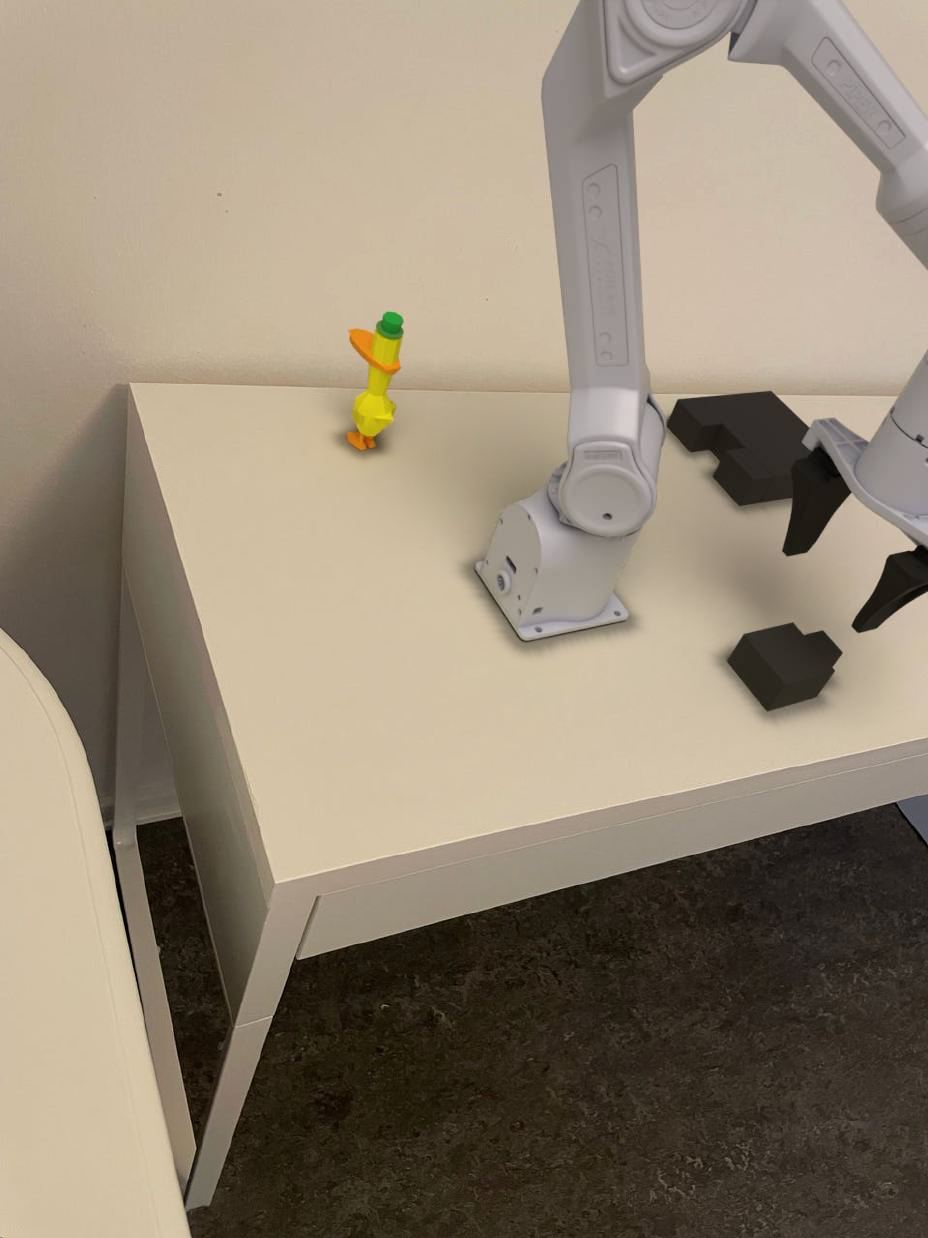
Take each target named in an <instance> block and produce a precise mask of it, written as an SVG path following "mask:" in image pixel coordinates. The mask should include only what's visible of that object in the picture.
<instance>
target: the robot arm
mask: <svg viewBox="0 0 928 1238" xmlns="http://www.w3.org/2000/svg"><path fill="white" fill-rule="evenodd" d="M729 33H730V34H729ZM728 34H729V43H728V51H727V57H726V60H727V61H729V62H733V63H740V64H741V63H742V64H755V65H756V64H757V65H767V66H768V65H770V66H780V67H782V68H784V69H785V70H786V71H787V72H788V73H789V74H790V75H791V76H792V77H793V79H794V80H795V81H796V82H797V83H798V84H799V85H800V86H801V87H802V88H803V89H804V90H805V92H806V93H807V94H808V95H809V96H810V97H811V98H812V99H813V100H814V101H815V102H816V104H817V105H818V106H819V107H820V108H821V109H822V110H823V112H825V114H827V115H828V117H829V118H830V119H831V120H832V121H833V122H834V123H835V124H836V126H838V128H839V129H840V130H841V131H842V132H843V133H844V135H846V136H847V137H848V138H849V139H850V141H851V142H852V143H853V144H854V145H855V146H856V147H857V148H858V149H859V151H860V152H861V153H862V154H863V155H864V157H866V158H867V159H868V160H869V161H870V163H871V164H872V165H873V166H874V167H875V168H876V169H877V170H878V171H879V172H880V173H879V181H878V186H877V190H876V195H875V204H874V206H875V210H876V212H877V213H878V214H879V216H880V217H881V218H882V219H883V220H884V222H885V223H886V224H887V225H888V226H889V228H891V230H892V231H893V232H894V233H895V234H896V236H897V237H898V238H899V239H900V240H901V241H902V242H903V244H904V245H905V246H906V247H907V248H908V250H909V251H910V252H911V253H912V254H913V255H914V257H915V258H916V259H917V260H918V261H919V262H920V264H921V265H922V267H923V268H924V269H925V270H926V271H927V272H928V115H927V114H926V113H925V111H924V110H923V109H922V107H921V106H920V103H918V102H917V100H916V99H915V97H914V96H913V95H912V94H911V91H909V89H908V88H907V87H906V85H905V84H904V83H903V81H902V80H901V78H900V77H899V76H898V75H897V73H896V72H895V70H894V69H893V68H892V66H891V65H890V64H889V62H888V61H887V60H886V58H885V57H884V55H883V54H882V52H881V51H880V50H879V49H878V47H877V46H876V45H875V43H874V42H873V41H872V39H871V37H869V35H868V34H867V32H866V31H865V30H864V28H863V26H861V24H860V23H859V22H858V20H857V18H855V16H854V15H853V14H852V12H851V11H850V9H849V8H848V7H847V5H846V4H845V3H844V2H843V0H579V1H578V3H577V5H576V7H575V10H574V11H573V13H572V16H571V17H570V19H569V22H568V23H567V26H566V28H565V29H564V32H563V34H562V36H561V38H560V40H559V43H558V44H557V46H556V48H555V50H554V53H553V55H552V57H551V59H550V60H549V63H548V65H547V67H546V69H545V71H544V74H543V77H542V79H541V92H540V100H541V108H542V109H541V111H542V119H543V128H544V139H545V148H546V149H545V150H546V159H547V169H548V178H549V179H548V180H549V188H550V198H551V199H550V200H551V208H552V218H553V219H552V220H553V229H554V238H555V246H556V257H557V268H558V276H559V286H560V287H559V288H560V297H561V306H562V316H563V318H562V319H563V326H564V337H565V338H564V339H565V346H566V356H567V365H568V377H569V385H570V396H569V406H568V407H569V409H568V422H567V423H568V424H567V433H566V434H567V435H566V436H567V437H566V445H567V456H568V457H567V460H565V461H564V462H563V463H562V464H561V465H560V466H559V467H558V468H555V470H554V471H553V472H552V473H551V475H550V477H549V480H548V482H547V483H546V484H545V485H544V486H543V487H542V488H541V489H539V490H537V491H536V492H535V493H534V494H532V495H530V496H527V497H525V498H523V499H521V500H518V501H514V502H511V503H509V504H507V505H506V506H505V507H504V508H503V509H502V510H501V512H500V514H499V516H498V518H497V522H496V524H495V528H494V531H493V534H492V536H491V539H490V542H489V545H488V548H487V552H486V555H485V557H484V560H479V561H477V562H476V563H475V565H474V570H475V571H476V572H477V574H478V575H479V577H480V579H481V580H482V581H483V583H484V585H485V586H486V588H487V589H488V591H489V592H490V594H491V596H492V597H493V598H494V600H495V602H496V603H497V604H498V606H499V608H500V610H501V611H502V613H504V615H505V617H506V618H507V620H508V622H509V623H510V625H511V626H512V627H513V629H514V631H515V632H516V633H517V635H518V636H519V638H520V639H521V640H523V641H534V640H538V639H543V638H546V637H547V638H548V637H552V636H556V635H562V634H566V633H571V632H575V631H579V630H584V629H585V630H586V629H589V628H594V627H599V626H603V625H608V624H613V623H618V622H623V621H626V620H628V618H629V616H630V614H629V611H628V610H627V608H626V607H625V606H624V604H623V603H622V601H621V600H620V598H618V596H617V595H616V594H615V592H614V590H615V587H616V586H617V585H616V584H617V583H618V580H619V578H620V576H621V574H622V573H623V571H624V568H625V565H626V563H627V561H628V559H629V557H630V555H631V553H632V551H633V549H634V546H635V545H636V542H637V540H638V538H639V536H640V534H641V531H642V529H643V527H644V525H646V523H647V522H648V521H649V520H650V519H651V517H652V515H653V514H654V512H655V510H656V507H657V501H658V493H657V482H658V476H659V470H660V469H659V468H660V462H661V456H662V448H663V447H664V443H665V440H666V437H667V431H668V427H667V419H666V416H665V413H664V411H663V409H662V408H661V406H660V405H659V403H658V402H657V400H656V398H655V396H654V394H653V390H652V383H651V372H650V369H649V367H648V364H647V362H646V348H645V347H646V345H645V344H646V343H645V327H644V306H643V305H644V304H643V303H644V302H643V286H642V265H641V246H640V245H641V244H640V228H639V227H640V225H639V224H640V223H639V207H638V185H637V166H636V165H637V163H636V147H635V145H636V144H635V143H636V142H635V125H634V123H635V122H634V110H635V109H636V108H637V106H638V105H639V104H640V103H641V102H642V101H643V100H644V98H645V97H646V96H647V95H648V94H649V93H650V92H651V91H652V90H653V88H655V87H656V85H657V84H658V83H659V82H660V81H661V80H662V79H663V77H664V75H666V74H667V73H668V72H671V71H672V70H674V69H676V68H677V67H679V66H681V65H683V64H685V63H687V62H689V61H690V60H692V59H695V58H696V57H698V56H699V55H702V54H703V53H704V52H706V51H707V50H709V49H711V48H712V47H713V46H715V45H716V44H718V43H720V42H721V41H722V40H723V39H724V38H725V37H726V36H727V35H728ZM802 443H803V444H804V445H805V446H806V447H807V448H808V449H809V450H811V451H813V452H812V454H809V455H808V457H807V458H801V459H797V460H796V461H795V462H794V464H793V466H792V468H791V476H792V487H793V497H791V498H792V501H791V510H790V516H789V520H788V524H787V525H788V526H787V530H786V534H785V538H784V541H783V545H782V549H781V552H782V553H783V554H784V556H785V557H787V558H788V557H794V556H798V555H803V554H807V553H809V551H810V550H811V549H812V548H813V546H814V545H815V544H816V542H817V541H818V540H819V538H820V537H821V535H822V534H823V532H824V530H825V529H826V528H827V526H828V524H829V522H830V521H831V519H832V518H833V516H834V515H835V514H836V512H837V511H838V510H839V508H840V507H841V506H842V505H843V504H844V502H845V501H846V500H847V499H848V498H849V496H851V494H852V495H853V496H854V497H855V498H856V500H858V501H859V503H860V504H862V505H863V506H864V507H865V508H867V509H868V510H870V511H871V512H873V513H874V514H876V515H877V516H879V517H880V518H881V519H884V520H885V521H886V522H888V523H890V524H891V525H892V526H894V527H896V528H897V529H898V530H899V531H901V532H902V533H903V534H904V535H905V537H906V538H907V539H909V540H910V541H911V542H912V543H913V544H914V545H915V548H914V550H905V551H901V552H900V551H899V552H896V553H891V554H889V555H888V556H887V558H886V559H885V563H884V566H883V569H882V573H881V575H880V577H879V579H878V581H877V584H876V586H875V587H874V590H873V592H872V593H871V594H870V596H869V598H868V599H867V600H866V601H865V603H864V604H863V605H862V606H861V608H860V610H859V611H858V612H857V614H856V616H855V617H854V618H853V621H852V623H851V625H850V627H851V628H852V629H853V630H854V631H855V633H857V634H861V633H865V632H869V631H873V630H877V629H878V628H879V627H880V626H881V625H882V624H884V622H886V621H887V620H888V619H890V617H892V616H893V615H894V614H896V613H898V611H899V610H901V609H902V608H904V607H905V606H906V605H908V604H909V603H911V602H913V601H914V600H916V599H918V598H919V597H921V596H924V594H927V593H928V348H927V350H926V351H925V352H924V354H923V356H922V357H921V359H920V361H919V362H918V364H917V365H916V367H915V369H914V370H913V372H912V374H911V375H910V377H909V378H908V380H907V382H905V384H904V386H903V388H902V389H901V391H900V392H899V394H898V396H897V398H896V399H895V401H894V403H893V404H892V405H891V407H890V408H889V410H888V412H887V413H886V416H885V417H884V418H883V420H882V422H881V423H880V425H879V427H878V428H877V430H876V431H875V433H874V434H873V436H872V437H871V439H870V441H868V440H867V439H866V438H863V437H862V436H860V435H859V434H857V433H855V431H853V430H851V429H850V428H849V427H847V426H846V425H844V423H842V422H841V421H839V419H837V418H836V417H826V418H817V419H814V420H813V421H812V423H811V425H810V426H809V430H808V432H807V433H806V435H805V437H804V439H803V440H802Z"/></svg>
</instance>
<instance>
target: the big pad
mask: <svg viewBox="0 0 928 1238" xmlns="http://www.w3.org/2000/svg"><path fill="white" fill-rule="evenodd" d="M666 423H667V429H669V431H671V432H672V434H673V435H674V436H675V437H676V438H677V439H678V441H680V442H681V443H682V444H683V446H685V448H686V449H687V450H688V451H689V452H690V453H692V452H699V451H700V452H701V451H707V450H709V451H711V453H712V454H714V455H715V456H716V458H717V459H718V460H719V461H720V462H719V464H718V465H717V467H716V469H715V472H714V474H713V475H712V477H713V478H714V479H715V480H716V481H717V483H719V485H720V486H721V487H722V488H723V489H724V490H725V491H726V492H727V494H728V495H729V496H730V497H731V498H732V499H733V501H735V503H737V504H738V505H739V506H744V505H752V504H758V503H765V502H772V501H777V500H785V499H791V498H792V497H793V487H792V476H791V468H792V466H793V464H794V462H795V461H796V460H797V459H801V458H807V457H808V455H809V454H812V452H813V451H811V450H809V449H808V448H807V447H806V446H805V445H804V444H803V443H802V440H803V439H804V437H805V435H806V433H807V432H808V430H809V428H810V426H808V425H807V424H806V422H805V421H804V420H802V419H801V418H800V417H799V416H798V415H797V414H796V413H795V412H794V411H793V410H792V409H791V408H790V407H789V406H788V405H787V404H786V403H784V401H782V400H781V398H779V397H778V396H777V395H776V394H775V393H774V392H773V390H765V391H764V390H763V391H754V392H753V391H751V392H741V393H731V394H719V395H708V396H707V395H706V396H698V397H696V396H695V397H687V398H677V400H676V402H675V404H674V407H673V409H672V411H671V413H670V415H669V417H668V420H667V421H666Z"/></svg>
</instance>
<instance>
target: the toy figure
mask: <svg viewBox="0 0 928 1238" xmlns="http://www.w3.org/2000/svg"><path fill="white" fill-rule="evenodd" d="M404 323H405V321H404V318H403V316H402V315H400V313H397V312H396V311H386V312H385V313H383V314H382V319H380V320H378V321H377V323H376V325H375V329H374V331H373V333H372V331H370V330H366V329H362V328H357V327H355V328H350V329H348V330H347V331H348V333H349V343H350V344H351V346H352V348H353V349H354V350H355V351H356V352H357V354H358V355H359V356H360V357H361V358H362V359H363V360H365V361H366V363H368V370H367V388H366V389H365V390H364V391H363V392H361V393H360V394H359V395H358V396H356V397H355V398H354V401H353V407H352V412H351V413H350V416H351V418H352V419H353V421H354V424H355V426H356V427H357V431H356V432H355V431H349V432H347V433H346V439H347V441H348V442H349V444H351V445H352V446H353V447H355V448H356V449H358V450H360V451H361V452H362V451H365V450H367V447H368V448H369V449H372V448H376V443H375V440H374V437H375V436H377V435H378V434H379V433H381V432H382V431H383V430H384V429H385V428H387V427H388V426H389V425H390V424H392V423H393V422H394V421H395V419H394V418H393V417H394V415H395V412H396V410H397V406H396V404H395V402H394V401H393V399H391V400H390V398H389V397H388V394H387V391H388V389H389V386H390V384H391V381H392V378H393V375H396V374H397V373H398V372H399V371H400V370H401V368H402V365H401V362H400V358H399V356H400V351H401V346H402V343H403V337H404V333H405V332H404V331H405V330H404V328H403V327H402V326H403V324H404Z"/></svg>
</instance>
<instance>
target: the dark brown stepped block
mask: <svg viewBox="0 0 928 1238" xmlns="http://www.w3.org/2000/svg"><path fill="white" fill-rule="evenodd" d="M843 653H844V652H843V651H842V650H841V648H840V647H839V645H837V644H836V642H834V641H833V640H832V638H831V637H830V636H829V635H828V634H827V632H825V630H823V629H822V630H817V631H814V632H810V633H805V634H804V633H803V632H802V630H801V629H800V628H799V627H798V626H797V624H796V623H794V622H788V623H784V624H779V625H776V626H771V627H767V628H763V629H758V630H754V631H750V632H746V633H743V634H742V636H741V638H740V639H739V641H738V642H737V644H736V645H735V647H734V649H733V650H732V652H731V654H730V655H729V657H728V658H727V660H726V662H727V663H728V664H729V666H730V667H731V668H732V669H733V671H734V672H735V673H736V674H737V676H738V677H739V678H740V679H741V680H742V682H743V683H744V685H746V687H747V688H748V689H749V690H750V692H751V693H752V695H754V697H755V698H756V699H757V700H758V702H759V703H760V705H762V707H763V708H764V710H766V712H769V711H773V710H776V709H780V708H784V707H787V706H790V705H794V704H798V703H800V702H805V701H808V700H811V699H815V698H817V697H818V696H819V694H820V693H821V691H823V689H824V688H825V686H826V685H827V684H828V682H829V681H830V679H831V678H832V677H833V675H834V674H835V672H836V670H835V668H834V666H835V664H836V663H837V662H838V661H839V659H840V658H841V656H842V655H843Z"/></svg>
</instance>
